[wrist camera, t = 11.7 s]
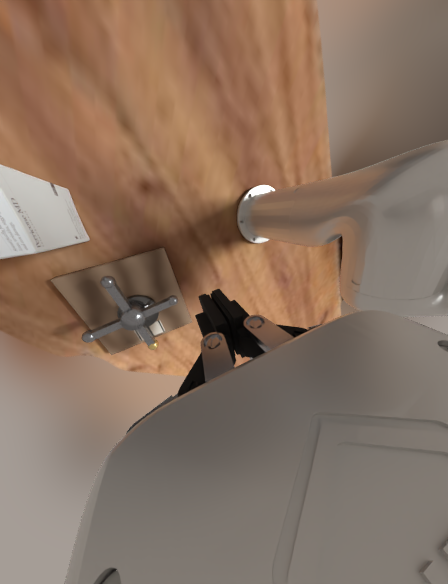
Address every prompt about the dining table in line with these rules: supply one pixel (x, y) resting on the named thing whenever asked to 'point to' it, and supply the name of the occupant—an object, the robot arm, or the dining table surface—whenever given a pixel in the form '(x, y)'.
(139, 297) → the capstan
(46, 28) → the dining table surface
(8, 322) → the dining table surface
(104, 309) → the board
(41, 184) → the skincare box
